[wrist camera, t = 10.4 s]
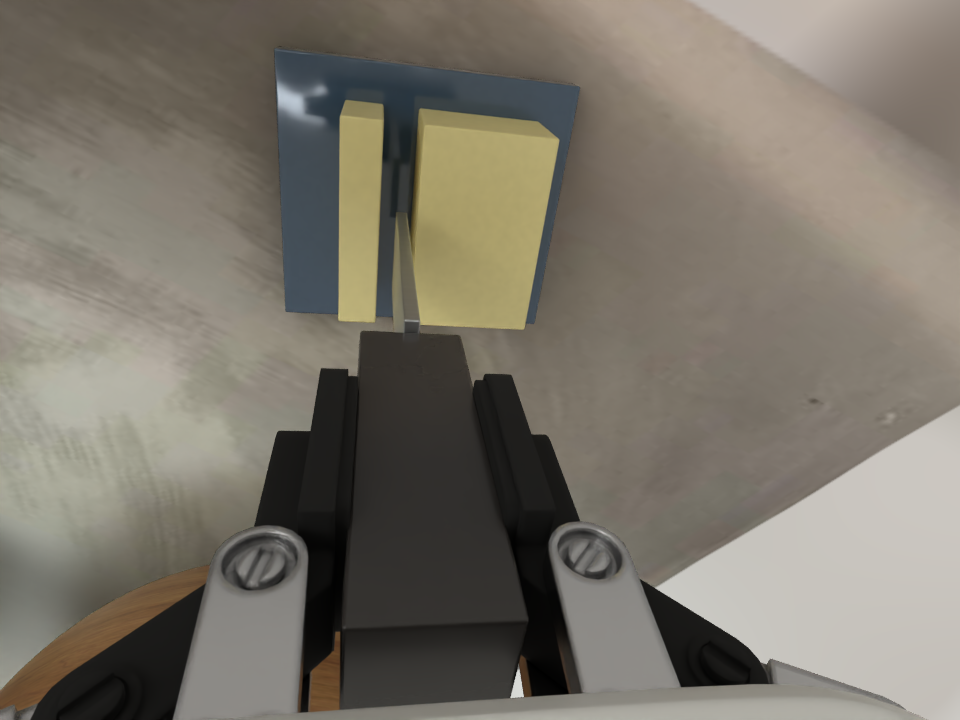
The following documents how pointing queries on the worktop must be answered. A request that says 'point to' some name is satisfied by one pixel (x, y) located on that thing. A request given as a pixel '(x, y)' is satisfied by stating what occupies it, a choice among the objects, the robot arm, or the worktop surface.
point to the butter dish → (383, 154)
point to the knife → (424, 526)
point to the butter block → (478, 216)
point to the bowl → (123, 620)
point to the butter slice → (359, 208)
